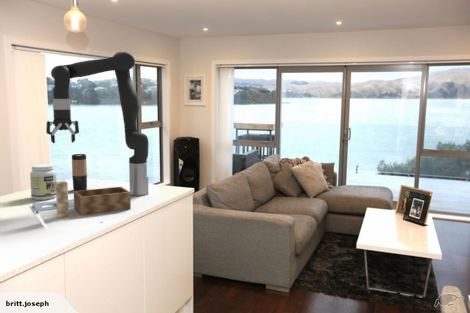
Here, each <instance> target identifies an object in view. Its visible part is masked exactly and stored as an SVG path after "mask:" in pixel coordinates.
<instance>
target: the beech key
mask: <svg viewBox="0 0 470 313" xmlns="http://www.w3.org/2000/svg"><path fill="white" fill-rule="evenodd" d="M68 185H69V184H68V181H66V180H65V181H64V180H63V181H56V197H55V198H56V200H55V201H57V209H56V217H57V219H66V218H67V219H68V218H70V215H69V214H70V212H69V211H70V210H69V209H70V208H69V207H68V200H69V190H68V189H69V188H68V187H69V186H68Z"/></svg>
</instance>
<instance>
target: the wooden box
mask: <svg viewBox="0 0 470 313" xmlns="http://www.w3.org/2000/svg"><path fill="white" fill-rule="evenodd" d="M73 199H74V207H73V209H74V210H75V211H76V212H77V213H78V214H79V215H80V216H88V215H98V214H105V213H112V212H118V211H121V212H122V211H127V210H131V207H132V206H131V204H132V203H131V195H130V190H127V189H126V188H124V187H122V186H115V187H112V186H111V187H104V188H94V189H87V190H82V191H74V190H73Z"/></svg>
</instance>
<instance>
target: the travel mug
mask: <svg viewBox="0 0 470 313" xmlns="http://www.w3.org/2000/svg"><path fill="white" fill-rule="evenodd" d="M87 166H88V165H87V154H86V153H74V154H71V170H72V171H71V174H72V189H73V190H72V191H73V192H74V191H82V190H88V172H87V171H88V168H87Z"/></svg>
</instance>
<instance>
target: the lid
mask: <svg viewBox="0 0 470 313" xmlns="http://www.w3.org/2000/svg"><path fill="white" fill-rule="evenodd" d="M50 205H51V206H50ZM43 206H45V207H43ZM68 207H69V209H70V208H74V198H73V199H71V198H70V199H68ZM32 208H33V210H34V211H35V213H36V214H39V212H43V211H45V212H46V211H52V210H57V200H54V201H45V202H36V203H32Z"/></svg>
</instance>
